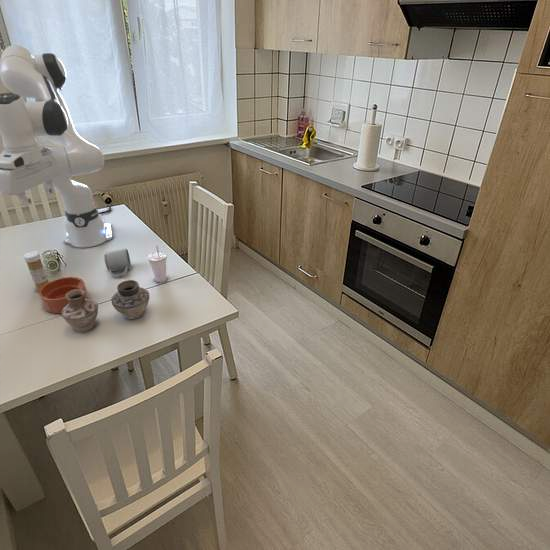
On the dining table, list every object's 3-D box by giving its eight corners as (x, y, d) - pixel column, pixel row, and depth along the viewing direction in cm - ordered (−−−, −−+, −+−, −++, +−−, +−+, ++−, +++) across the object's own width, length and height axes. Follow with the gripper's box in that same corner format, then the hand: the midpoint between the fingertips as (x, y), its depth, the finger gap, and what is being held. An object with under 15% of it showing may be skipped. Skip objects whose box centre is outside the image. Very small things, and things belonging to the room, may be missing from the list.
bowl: (50, 292, 134) (45, 279, 131) (91, 288, 136) (88, 275, 133) (39, 316, 123) (33, 302, 120) (84, 311, 125) (79, 297, 122)
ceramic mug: (108, 265, 149) (103, 247, 145) (131, 262, 151) (127, 244, 147) (107, 280, 141) (102, 262, 136) (131, 276, 143) (127, 258, 139)
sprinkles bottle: (45, 283, 138) (33, 249, 131) (53, 286, 137) (42, 252, 130) (33, 289, 135) (20, 255, 128) (41, 293, 133) (29, 258, 126)
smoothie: (165, 285, 138) (159, 250, 131) (148, 283, 139) (142, 248, 132) (173, 275, 143) (167, 241, 136) (156, 273, 145) (150, 240, 137)
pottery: (66, 320, 121) (55, 288, 115) (148, 299, 131) (142, 269, 125) (68, 342, 113) (56, 309, 107) (155, 318, 123) (149, 286, 116)
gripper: (40, 145, 125) (53, 186, 132) (-13, 163, 108) (5, 210, 115) (57, 146, 123) (69, 188, 131) (6, 165, 107) (23, 212, 114)
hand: (39, 198), depth 123 cm, fingers open, 8 cm apart
